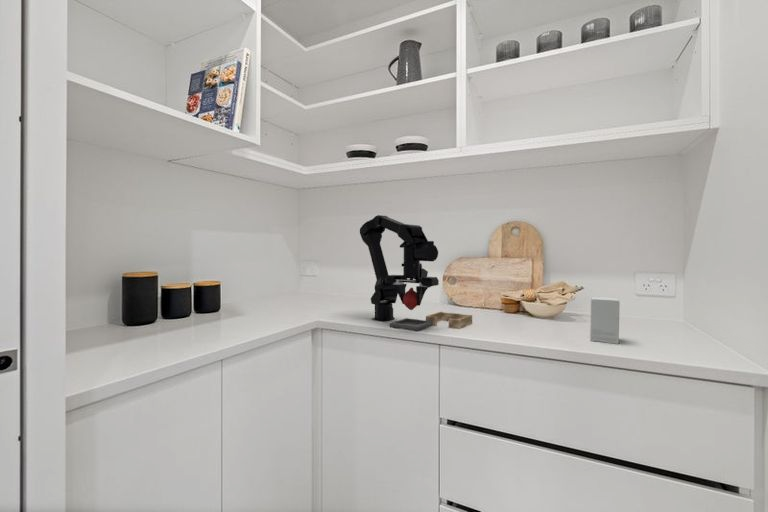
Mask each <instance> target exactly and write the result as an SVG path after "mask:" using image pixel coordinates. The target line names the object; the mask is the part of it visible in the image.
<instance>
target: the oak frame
mask: <svg viewBox="0 0 768 512" xmlns="http://www.w3.org/2000/svg"><path fill="white" fill-rule="evenodd" d="M425 321H433V326H438V322H440V321H445V322H448V328H449V329H457V330H460V329H463V328H465V327H467V326H469V325H472V324H473V314H466V313H465V314H464V313H456V312H455V313H454V312H446V311H439V312H435V313H432V314H429V315H426V316H425Z"/></svg>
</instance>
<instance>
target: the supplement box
mask: <svg viewBox="0 0 768 512" xmlns="http://www.w3.org/2000/svg"><path fill="white" fill-rule="evenodd" d="M589 331H590V332H589V337H590V338H589V339H590V341H591V342H592V341H593V342H599V343H607V344H617V345H618V344H620V343H619V341H620V299H619V298H618V297H604V296H603V297H602V296H592V297H591V299H590V329H589Z"/></svg>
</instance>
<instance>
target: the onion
mask: <svg viewBox="0 0 768 512" xmlns="http://www.w3.org/2000/svg"><path fill="white" fill-rule="evenodd" d="M403 303H404V304H403V305H404V306H405V307H406V309H408V310H409V311H413V310H414V309H415V308H417V307H418V305H417V293H416V290H414V288H413V287H410V288H409V289H408V291H405V295H404V297H403Z"/></svg>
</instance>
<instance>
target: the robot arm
mask: <svg viewBox="0 0 768 512" xmlns="http://www.w3.org/2000/svg"><path fill="white" fill-rule="evenodd" d="M385 230H387V231H390V232H393V233H395V234H396V235H397V236H398V238H400V240H402V241H403V242H402V243H401V244H399V248H402V249H403V262H402V263H401V267H403V272H402V274H389V272H388V268H387V264H386V260H385V257H384V254H383V249H382V246H381V241H382V237H383V233H385ZM359 235H360V237H361V240H362V241H363V243H364V244H365V245H366V246H367V247H368V251H369V255H370V256H369V257H370V258H371V263H372V266H373V270H374V274H375V278H376V280H375V284H374V293H373V294H372V295H371V297H370V303H371V304H372V305H374V317H372V319H371V320H373V319H375V320H376V321H381V320H382V321H383V322H387V321H388V322H389V321H392V320H395V317H394V307H393V304H396V302H397V298H398V296H399V299H400V301H401V304H403V305H404V303H403V297H404V295H405V293H406V287H407V285H408V283H409V284H410V283H411V284H418V285H417V286H416V288H415V289H416V290H415V292H416V293H417V307H420V306H421V304H422V301H423V298H424V296H425V293H426V291H427V290H428V289H429V288H431V287H434V286H435V287H436V286H439V285H440V284H439V282H440V281H439V279H438V277H437V276H428V273H429V271H428V270H426V269H425V268H423V265H422V263H421V262H435V261H436V260H437V258H439V257H438V256H439V249H438V247H437V246H436V245H435V243H434V242H435V241H433V240H428V238H427V236H426V235H425V233H424V231H423V227H422V226H421V225H416V224H408V223H407V224H406V223H404V222H401V221H398V220H396V219H394V218H391V217H389V216H387V215H380V214H379V215H375V216H374V217H373V218H372V219H370V220H367V221H366V222H364V224H362V225H361V227H360V229H359Z"/></svg>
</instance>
